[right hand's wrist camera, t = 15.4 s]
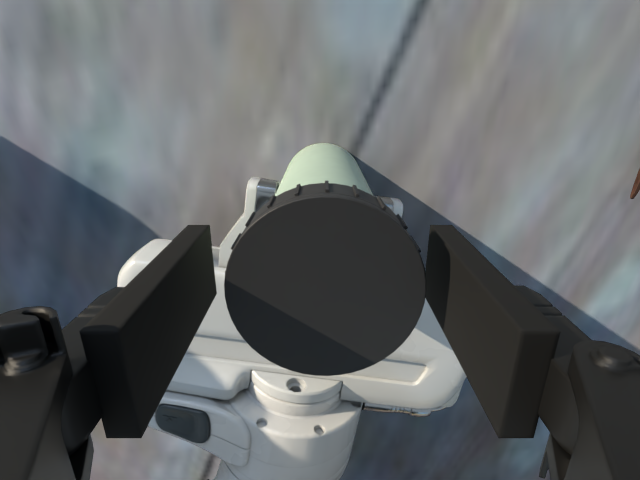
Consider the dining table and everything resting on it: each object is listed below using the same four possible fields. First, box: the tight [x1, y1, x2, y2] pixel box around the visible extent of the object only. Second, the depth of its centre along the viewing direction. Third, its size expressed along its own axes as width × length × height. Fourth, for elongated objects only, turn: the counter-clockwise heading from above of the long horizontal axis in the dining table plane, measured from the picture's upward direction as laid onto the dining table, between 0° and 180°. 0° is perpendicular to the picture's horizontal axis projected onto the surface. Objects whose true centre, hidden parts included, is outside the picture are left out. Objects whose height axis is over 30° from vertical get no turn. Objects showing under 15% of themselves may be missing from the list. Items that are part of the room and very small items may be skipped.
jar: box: [275, 143, 373, 196], centre depth 19 cm, size 5×5×15 cm
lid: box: [224, 181, 426, 376], centre depth 12 cm, size 6×6×2 cm
